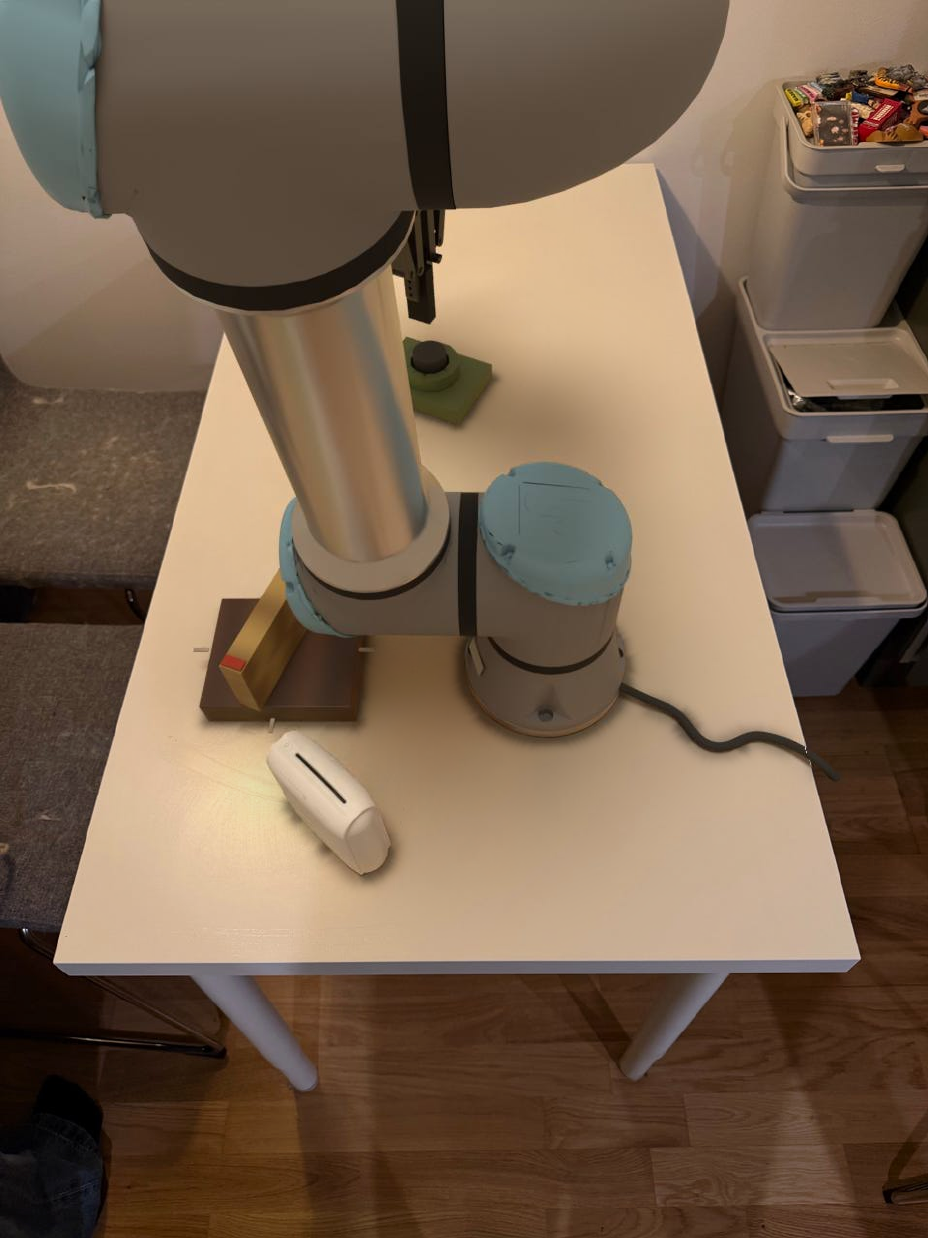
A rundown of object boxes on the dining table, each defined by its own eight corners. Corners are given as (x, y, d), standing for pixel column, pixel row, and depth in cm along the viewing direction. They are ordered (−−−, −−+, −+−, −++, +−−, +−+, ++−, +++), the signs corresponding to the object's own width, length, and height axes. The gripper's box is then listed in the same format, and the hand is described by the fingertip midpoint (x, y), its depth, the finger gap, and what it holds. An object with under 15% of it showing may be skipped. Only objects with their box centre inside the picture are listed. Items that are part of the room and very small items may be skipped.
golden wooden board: (304, 593, 83) (289, 548, 77) (324, 599, 82) (310, 555, 76) (239, 704, 77) (217, 664, 70) (260, 711, 76) (240, 672, 70)
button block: (492, 378, 103) (492, 352, 100) (458, 425, 99) (456, 399, 96) (407, 350, 107) (404, 323, 103) (371, 394, 102) (367, 368, 99)
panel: (383, 593, 86) (380, 575, 84) (370, 747, 77) (366, 732, 74) (218, 593, 87) (209, 575, 84) (186, 746, 78) (175, 732, 75)
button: (452, 357, 100) (452, 345, 99) (436, 378, 98) (435, 366, 97) (423, 348, 101) (422, 336, 100) (407, 368, 99) (405, 356, 98)
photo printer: (284, 804, 74) (250, 747, 64) (321, 771, 76) (293, 710, 66) (362, 885, 70) (339, 838, 60) (399, 848, 72) (383, 796, 62)
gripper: (402, 51, 78) (421, 275, 98) (327, 119, 72) (363, 342, 92) (474, 67, 76) (478, 292, 96) (403, 138, 70) (423, 363, 90)
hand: (422, 317), depth 94 cm, fingers closed
